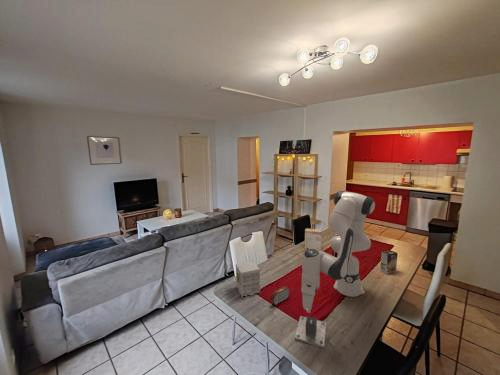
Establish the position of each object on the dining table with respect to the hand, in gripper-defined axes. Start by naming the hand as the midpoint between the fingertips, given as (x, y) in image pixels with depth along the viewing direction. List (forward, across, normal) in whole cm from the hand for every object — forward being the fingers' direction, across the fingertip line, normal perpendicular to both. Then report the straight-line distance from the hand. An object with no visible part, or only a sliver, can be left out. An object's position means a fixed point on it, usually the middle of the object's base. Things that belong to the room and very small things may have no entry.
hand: (309, 305), depth 114 cm
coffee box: (+16, -81, +47) cm, 95 cm away
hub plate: (+14, +1, +1) cm, 14 cm away
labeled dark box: (+13, +1, +1) cm, 13 cm away
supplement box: (+16, -20, -44) cm, 51 cm away
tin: (+15, -16, -20) cm, 30 cm away
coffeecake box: (+17, -104, -12) cm, 106 cm away
